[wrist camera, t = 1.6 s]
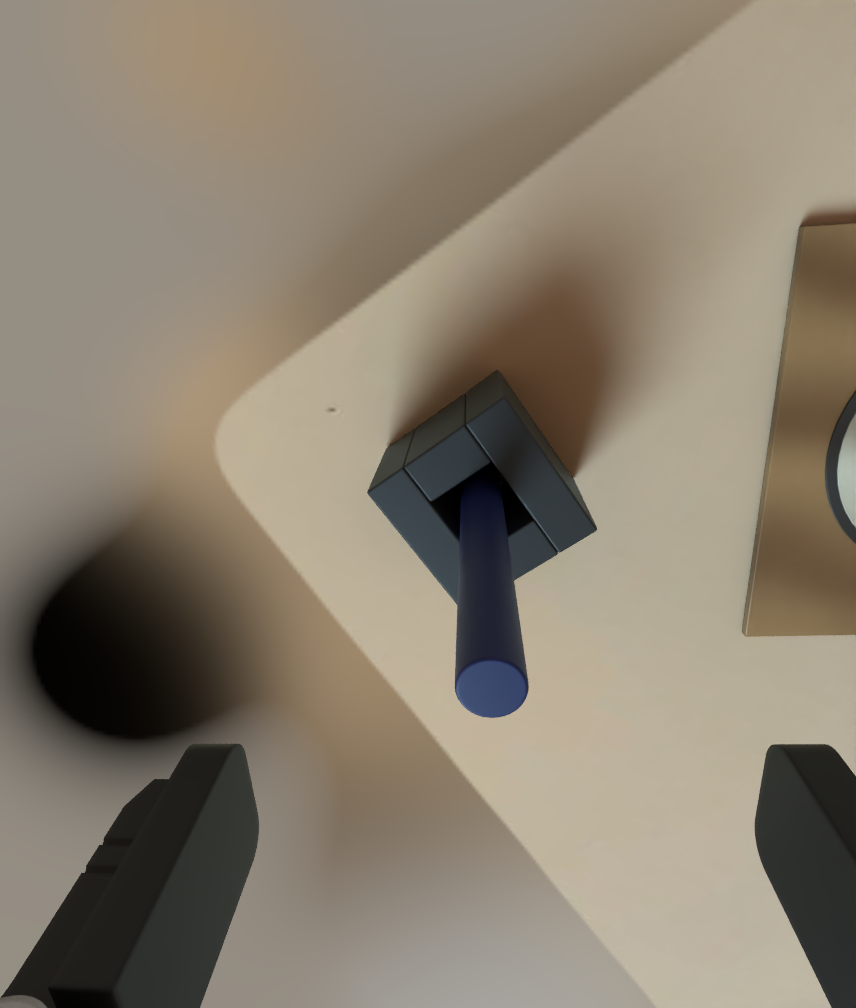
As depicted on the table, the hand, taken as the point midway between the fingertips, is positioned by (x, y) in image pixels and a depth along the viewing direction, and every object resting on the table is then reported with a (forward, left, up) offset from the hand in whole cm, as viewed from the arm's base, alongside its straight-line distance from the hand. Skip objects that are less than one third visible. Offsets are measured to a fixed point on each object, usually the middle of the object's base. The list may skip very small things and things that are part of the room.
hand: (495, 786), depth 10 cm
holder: (0, 0, -16) cm, 16 cm away
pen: (0, 0, -16) cm, 16 cm away
